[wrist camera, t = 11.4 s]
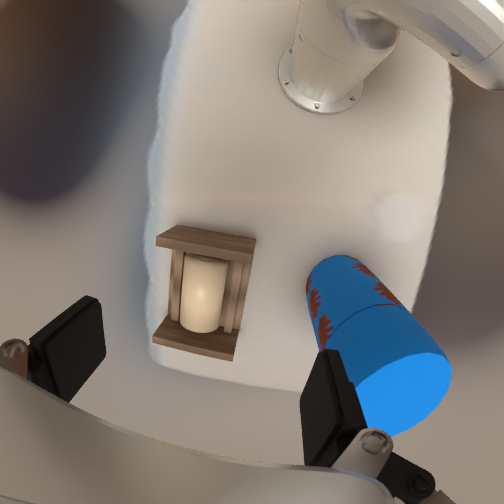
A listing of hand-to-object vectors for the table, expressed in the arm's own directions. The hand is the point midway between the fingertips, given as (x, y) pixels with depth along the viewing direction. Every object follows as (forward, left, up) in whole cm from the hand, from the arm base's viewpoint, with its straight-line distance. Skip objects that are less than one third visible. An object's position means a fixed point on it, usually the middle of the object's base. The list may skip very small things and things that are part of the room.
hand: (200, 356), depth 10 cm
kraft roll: (+10, -5, -29) cm, 31 cm away
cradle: (+10, -5, -30) cm, 32 cm away
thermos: (+7, +15, -31) cm, 35 cm away
